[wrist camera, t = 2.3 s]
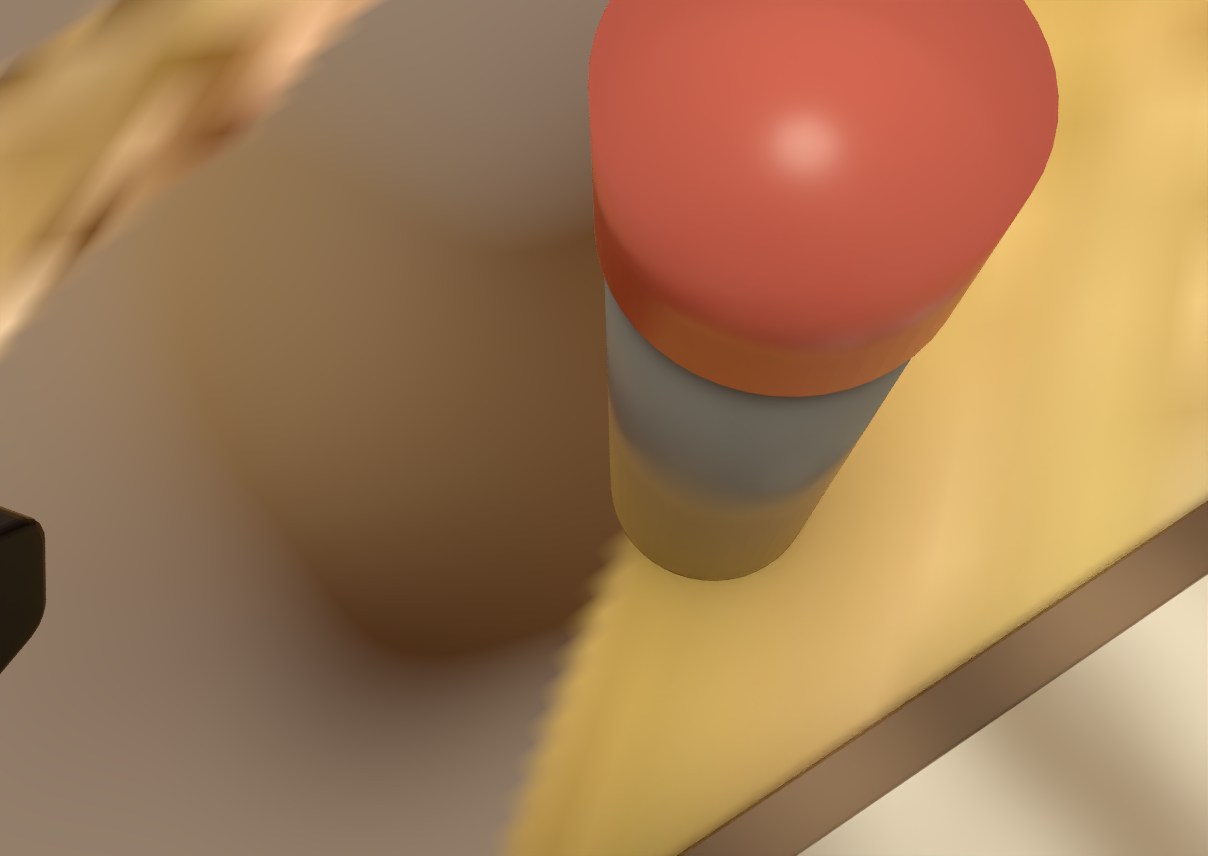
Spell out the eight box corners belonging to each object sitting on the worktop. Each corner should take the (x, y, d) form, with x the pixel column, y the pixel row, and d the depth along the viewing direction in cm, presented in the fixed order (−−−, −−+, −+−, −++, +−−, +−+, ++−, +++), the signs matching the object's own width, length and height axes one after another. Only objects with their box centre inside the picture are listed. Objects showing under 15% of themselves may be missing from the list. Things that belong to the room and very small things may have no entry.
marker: (679, 626, 20) (759, 374, 9) (566, 449, 22) (503, 19, 10) (857, 514, 21) (1158, 140, 9) (738, 349, 22) (871, -165, 11)
